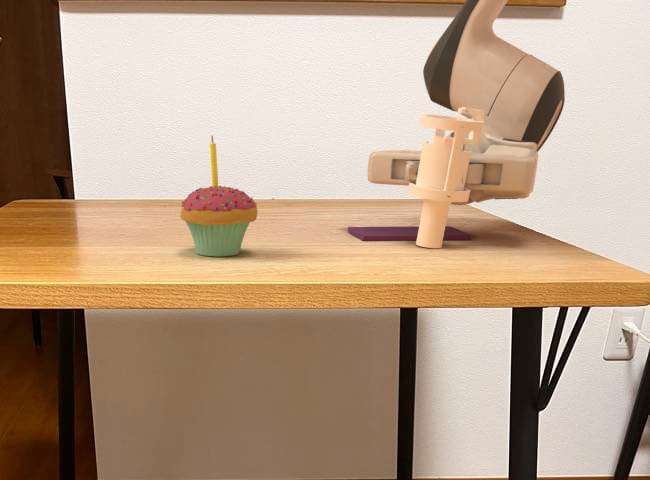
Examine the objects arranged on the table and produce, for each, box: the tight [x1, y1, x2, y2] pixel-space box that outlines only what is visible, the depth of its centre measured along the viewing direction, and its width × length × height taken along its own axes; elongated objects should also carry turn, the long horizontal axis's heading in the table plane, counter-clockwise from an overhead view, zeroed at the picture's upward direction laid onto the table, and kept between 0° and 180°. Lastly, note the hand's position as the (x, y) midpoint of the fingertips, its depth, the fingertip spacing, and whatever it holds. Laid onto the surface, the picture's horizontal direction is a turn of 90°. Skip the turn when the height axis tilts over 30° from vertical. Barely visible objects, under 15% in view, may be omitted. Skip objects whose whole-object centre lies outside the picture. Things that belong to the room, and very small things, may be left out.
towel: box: [347, 225, 472, 242], centre depth 113 cm, size 14×8×1 cm, turn 98°
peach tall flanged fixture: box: [407, 107, 485, 249], centre depth 101 cm, size 7×7×15 cm
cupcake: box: [180, 135, 258, 258], centre depth 96 cm, size 9×8×12 cm
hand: (433, 174), depth 101 cm, fingers closed on peach tall flanged fixture, 4 cm apart
